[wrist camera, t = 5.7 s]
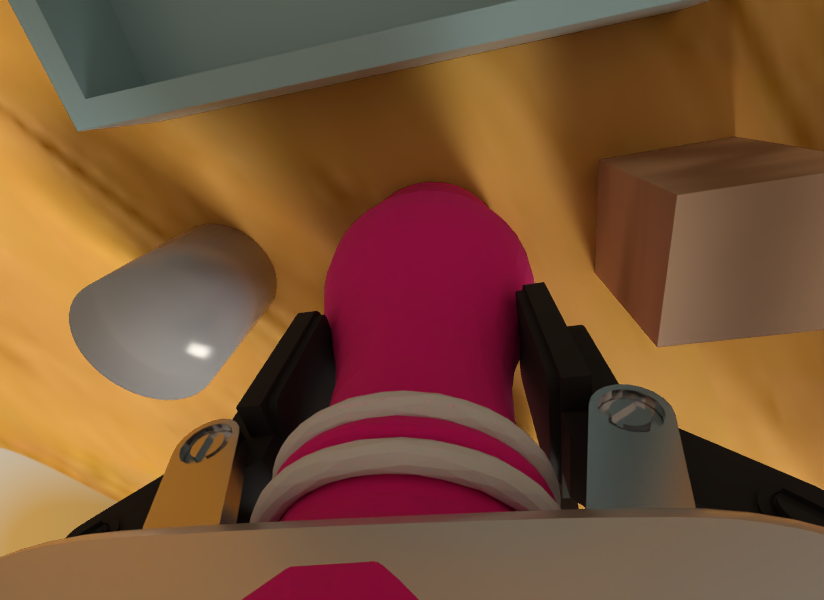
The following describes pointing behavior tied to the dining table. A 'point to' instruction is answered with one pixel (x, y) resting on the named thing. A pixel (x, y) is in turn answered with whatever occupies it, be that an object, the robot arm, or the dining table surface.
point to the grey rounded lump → (174, 312)
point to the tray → (272, 45)
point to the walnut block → (714, 239)
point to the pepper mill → (412, 386)
